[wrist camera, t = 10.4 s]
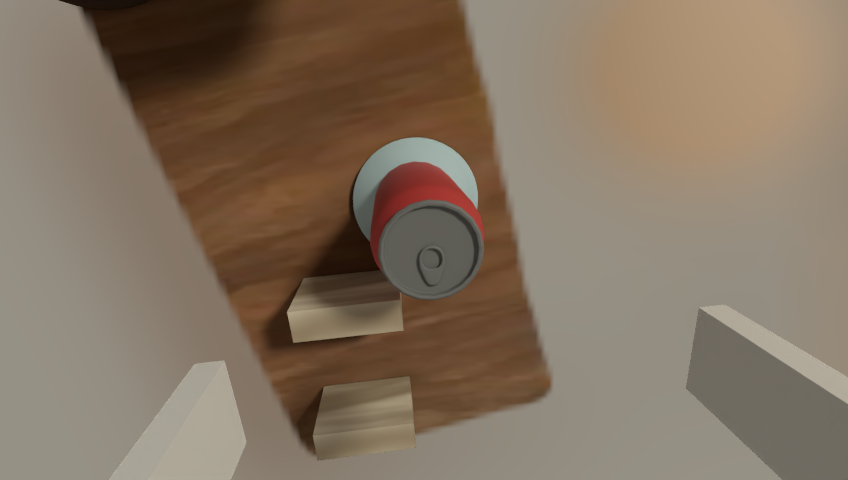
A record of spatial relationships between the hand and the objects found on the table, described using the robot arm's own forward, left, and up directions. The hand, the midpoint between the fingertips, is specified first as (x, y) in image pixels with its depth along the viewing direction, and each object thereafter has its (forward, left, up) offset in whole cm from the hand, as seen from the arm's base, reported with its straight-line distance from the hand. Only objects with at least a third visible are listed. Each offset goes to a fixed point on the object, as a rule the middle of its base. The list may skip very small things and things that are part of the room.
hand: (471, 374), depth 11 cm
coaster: (0, 0, -23) cm, 23 cm away
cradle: (+13, -6, -23) cm, 27 cm away
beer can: (0, 0, -22) cm, 23 cm away
